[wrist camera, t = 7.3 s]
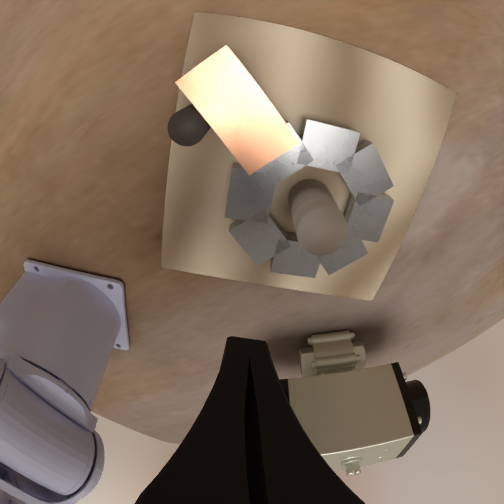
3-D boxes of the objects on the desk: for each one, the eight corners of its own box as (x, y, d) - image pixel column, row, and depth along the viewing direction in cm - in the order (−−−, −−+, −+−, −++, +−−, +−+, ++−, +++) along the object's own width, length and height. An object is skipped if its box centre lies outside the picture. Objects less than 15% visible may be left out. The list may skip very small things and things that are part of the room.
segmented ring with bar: (406, 221, 17) (428, 249, 15) (284, 290, 20) (289, 325, 18) (287, 17, 11) (296, 3, 9) (142, 120, 14) (118, 132, 12)
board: (164, 258, 21) (144, 308, 16) (198, 15, 12) (176, -7, 8) (368, 292, 22) (388, 341, 18) (448, 91, 14) (499, 105, 10)
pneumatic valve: (257, 332, 25) (259, 476, 14) (396, 315, 24) (445, 441, 14) (264, 371, 27) (267, 493, 17) (385, 355, 27) (418, 466, 17)
